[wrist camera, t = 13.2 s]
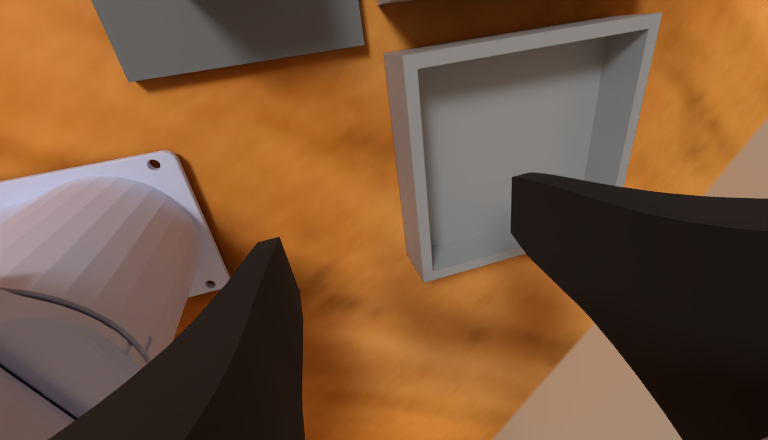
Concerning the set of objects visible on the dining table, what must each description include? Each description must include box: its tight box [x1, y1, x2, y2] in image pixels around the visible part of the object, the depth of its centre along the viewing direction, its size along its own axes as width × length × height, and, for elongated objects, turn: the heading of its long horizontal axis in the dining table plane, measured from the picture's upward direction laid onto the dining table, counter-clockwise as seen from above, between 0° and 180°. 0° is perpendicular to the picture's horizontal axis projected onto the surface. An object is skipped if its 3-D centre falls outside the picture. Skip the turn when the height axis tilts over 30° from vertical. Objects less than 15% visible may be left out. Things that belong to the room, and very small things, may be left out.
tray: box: [384, 13, 662, 283], centre depth 20 cm, size 13×12×3 cm
